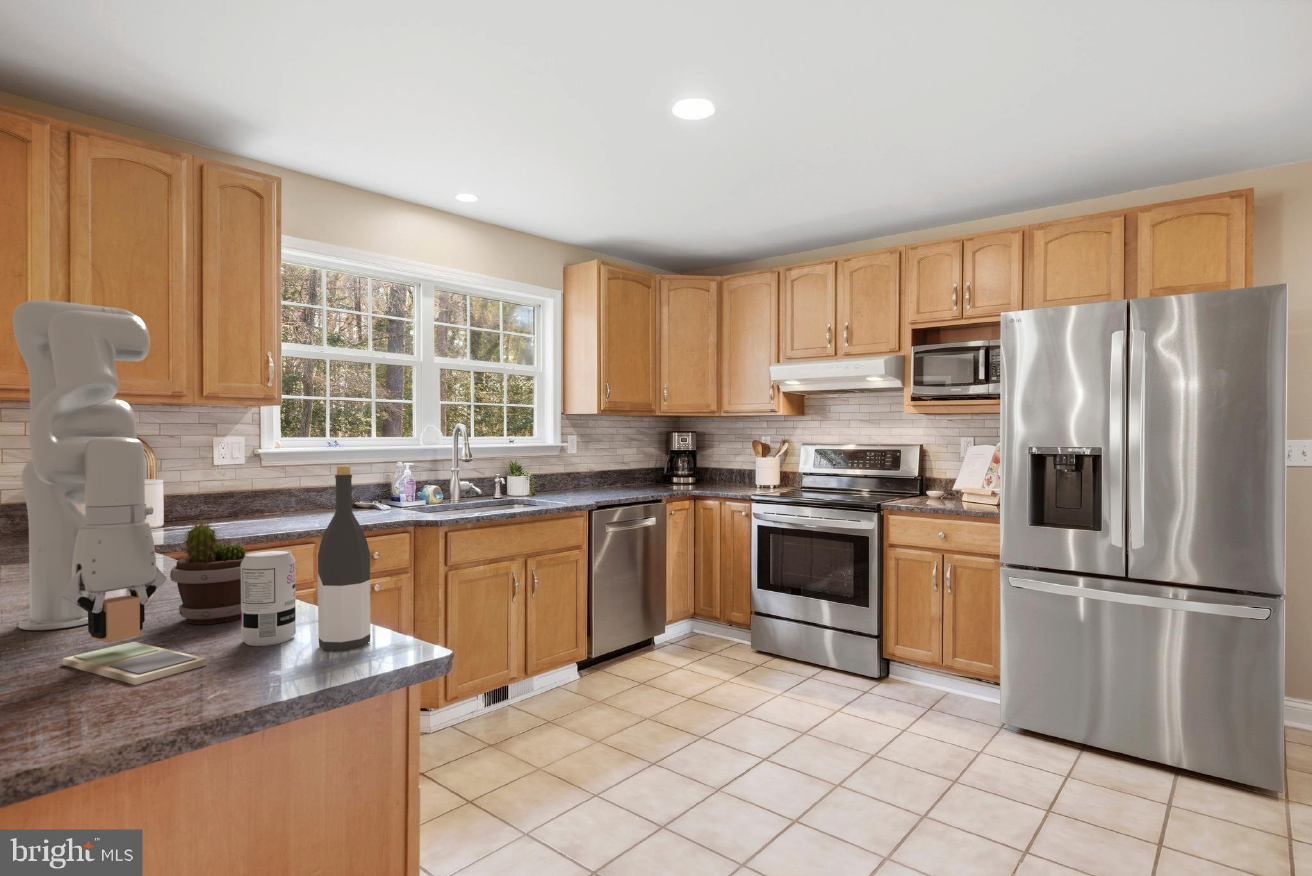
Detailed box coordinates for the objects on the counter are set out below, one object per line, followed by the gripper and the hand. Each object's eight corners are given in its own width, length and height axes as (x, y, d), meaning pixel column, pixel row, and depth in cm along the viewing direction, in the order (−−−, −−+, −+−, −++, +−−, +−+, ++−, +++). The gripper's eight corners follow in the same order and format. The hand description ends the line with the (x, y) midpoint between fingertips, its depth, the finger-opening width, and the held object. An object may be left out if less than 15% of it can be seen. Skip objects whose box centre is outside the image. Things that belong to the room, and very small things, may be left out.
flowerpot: (221, 606, 150) (220, 509, 150) (278, 613, 145) (277, 512, 145) (151, 624, 136) (150, 517, 136) (210, 631, 131) (209, 520, 131)
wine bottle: (368, 649, 120) (367, 466, 120) (314, 653, 118) (313, 467, 117) (372, 636, 128) (371, 464, 127) (322, 640, 125) (320, 465, 125)
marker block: (92, 639, 114) (91, 600, 114) (124, 632, 118) (123, 594, 118) (107, 642, 112) (107, 603, 112) (139, 635, 116) (139, 597, 116)
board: (63, 664, 113) (62, 656, 113) (134, 647, 121) (134, 640, 121) (135, 685, 103) (135, 676, 103) (206, 664, 112) (206, 657, 112)
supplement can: (234, 640, 125) (233, 553, 125) (285, 631, 131) (284, 547, 131) (251, 650, 120) (250, 558, 120) (303, 639, 126) (302, 552, 126)
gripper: (159, 510, 124) (160, 618, 124) (38, 521, 109) (39, 644, 109) (185, 512, 120) (186, 623, 120) (64, 523, 105) (65, 650, 105)
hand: (117, 632), depth 114 cm, fingers closed on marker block, 4 cm apart
